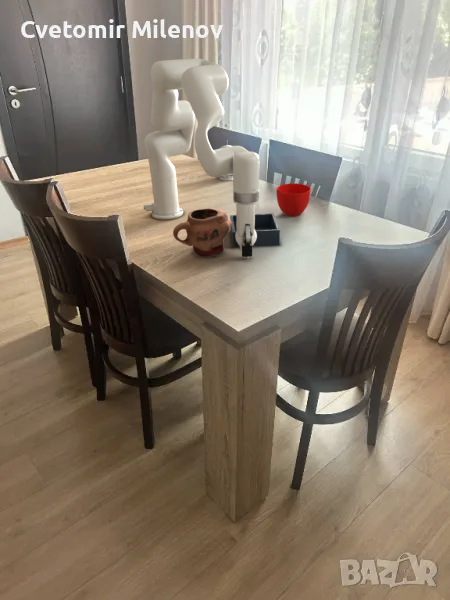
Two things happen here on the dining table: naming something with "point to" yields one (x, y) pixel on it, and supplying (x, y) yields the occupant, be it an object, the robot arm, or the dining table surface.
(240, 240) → the light bulb
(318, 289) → the dining table surface
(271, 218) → the tote
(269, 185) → the dining table surface
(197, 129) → the robot arm
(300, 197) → the ceramic cup
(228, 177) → the french press
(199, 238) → the brown clay mug
